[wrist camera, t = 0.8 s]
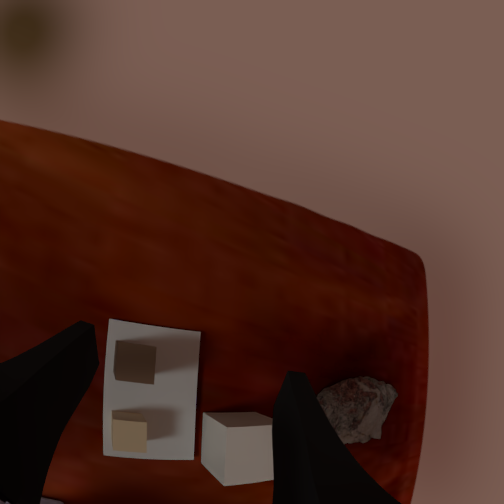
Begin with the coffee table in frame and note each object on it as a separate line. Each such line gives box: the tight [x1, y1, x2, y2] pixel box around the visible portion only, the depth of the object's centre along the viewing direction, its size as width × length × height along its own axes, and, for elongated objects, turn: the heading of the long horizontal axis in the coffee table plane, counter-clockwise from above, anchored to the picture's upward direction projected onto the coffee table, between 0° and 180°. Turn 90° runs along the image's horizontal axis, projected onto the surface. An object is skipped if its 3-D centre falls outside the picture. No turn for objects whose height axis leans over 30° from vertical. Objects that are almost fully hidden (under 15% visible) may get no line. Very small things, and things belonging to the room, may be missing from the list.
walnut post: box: [113, 341, 157, 385], centre depth 21 cm, size 3×3×6 cm
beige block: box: [201, 412, 274, 486], centre depth 23 cm, size 5×5×6 cm
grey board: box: [103, 319, 201, 460], centre depth 22 cm, size 12×8×4 cm, turn 176°
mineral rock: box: [317, 376, 398, 444], centre depth 30 cm, size 15×8×4 cm, turn 79°
